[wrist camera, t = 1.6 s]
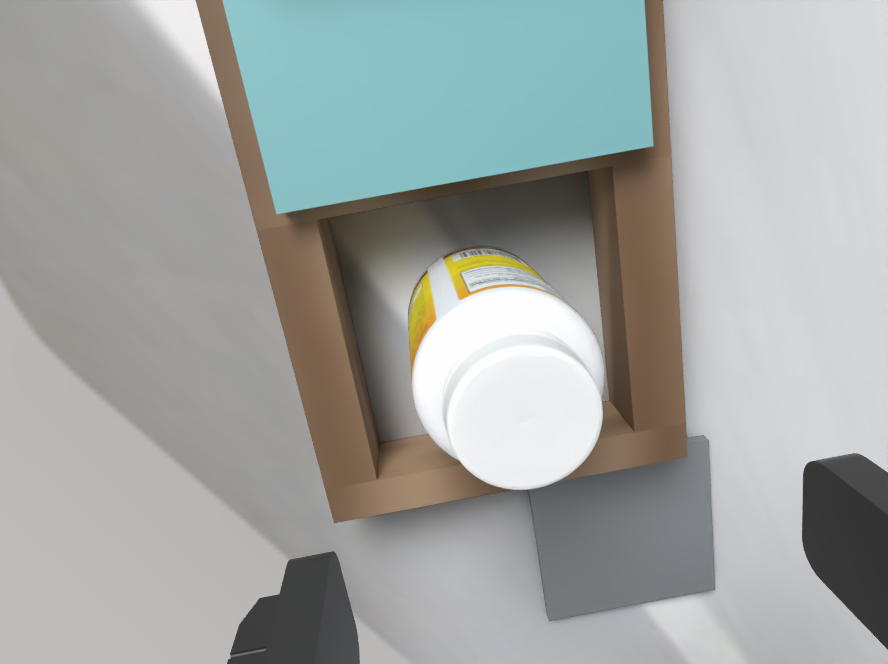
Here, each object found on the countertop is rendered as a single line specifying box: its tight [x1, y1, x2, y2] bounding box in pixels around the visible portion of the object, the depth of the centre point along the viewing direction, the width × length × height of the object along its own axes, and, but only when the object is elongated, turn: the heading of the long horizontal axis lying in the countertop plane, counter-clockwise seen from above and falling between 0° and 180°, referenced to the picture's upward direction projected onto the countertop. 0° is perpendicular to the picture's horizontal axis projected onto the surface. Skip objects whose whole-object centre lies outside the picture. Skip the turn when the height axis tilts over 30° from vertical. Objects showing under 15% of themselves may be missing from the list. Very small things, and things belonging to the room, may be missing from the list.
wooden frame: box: [196, 0, 688, 523], centre depth 22 cm, size 14×22×3 cm, turn 10°
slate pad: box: [528, 435, 715, 621], centre depth 28 cm, size 8×8×1 cm
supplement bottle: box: [408, 246, 604, 490], centre depth 20 cm, size 6×6×10 cm
